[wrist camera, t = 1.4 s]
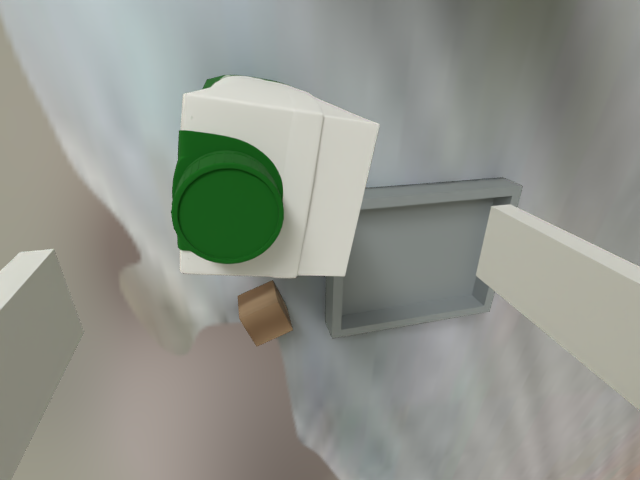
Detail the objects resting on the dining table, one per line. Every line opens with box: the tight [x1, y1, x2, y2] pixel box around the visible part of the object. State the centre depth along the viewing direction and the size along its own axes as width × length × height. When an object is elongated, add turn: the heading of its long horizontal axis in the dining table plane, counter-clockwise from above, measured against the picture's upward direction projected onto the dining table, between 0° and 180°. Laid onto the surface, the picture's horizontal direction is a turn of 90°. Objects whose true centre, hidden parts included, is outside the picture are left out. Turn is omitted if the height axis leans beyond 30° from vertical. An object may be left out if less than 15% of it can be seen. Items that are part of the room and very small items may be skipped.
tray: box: [325, 178, 523, 338], centre depth 40 cm, size 16×20×3 cm
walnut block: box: [238, 280, 293, 346], centre depth 37 cm, size 4×4×4 cm
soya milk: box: [171, 75, 379, 278], centre depth 22 cm, size 9×9×20 cm
